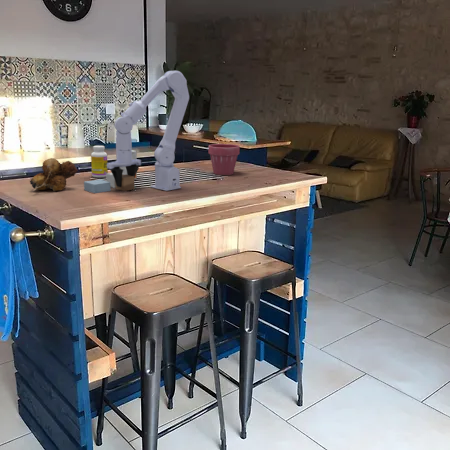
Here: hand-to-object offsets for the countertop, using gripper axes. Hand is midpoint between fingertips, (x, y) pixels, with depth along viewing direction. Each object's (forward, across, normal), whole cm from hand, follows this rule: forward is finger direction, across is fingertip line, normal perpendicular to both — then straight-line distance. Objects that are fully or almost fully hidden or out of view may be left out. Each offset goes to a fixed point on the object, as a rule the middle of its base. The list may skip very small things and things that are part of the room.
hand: (124, 185), depth 191 cm
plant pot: (+2, -54, +3) cm, 54 cm away
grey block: (+2, -1, -7) cm, 7 cm away
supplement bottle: (+2, -8, -27) cm, 28 cm away
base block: (+2, +9, -5) cm, 10 cm away
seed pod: (+2, +20, -18) cm, 27 cm away
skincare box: (+2, -13, -14) cm, 19 cm away
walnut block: (+1, 0, 0) cm, 1 cm away
